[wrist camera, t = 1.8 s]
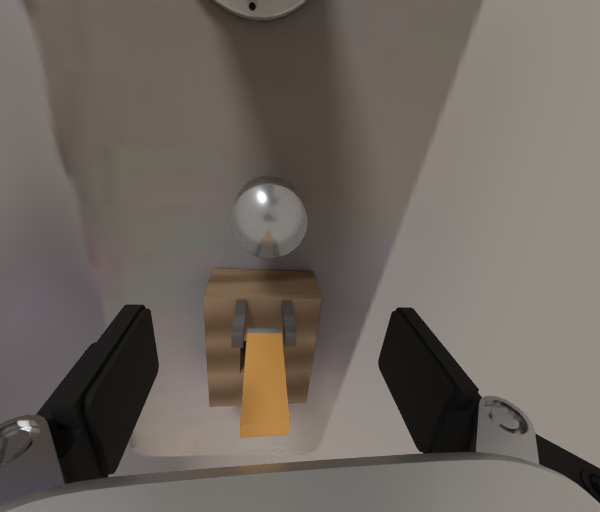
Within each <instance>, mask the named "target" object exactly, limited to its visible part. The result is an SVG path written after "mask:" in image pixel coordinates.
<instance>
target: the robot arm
mask: <svg viewBox="0 0 600 512" xmlns="http://www.w3.org/2000/svg"><path fill="white" fill-rule="evenodd" d="M213 1H214V2H215V3H217V4H218V5H220V6H221V7H222V8H224V9H225V10H227V11H229V12H231V13H233V14H235V15H237V16H239V17H242V18H246V19H251V20H256V21H260V20H273V19H277V18H281V17H284V16H286V15H288V14H290V13H292V12H293V11H295V10H297V9H298V8H299V7H300V6H302V5H303V4H304V3H305V2H306V1H307V0H213ZM251 4H254V5H255V7H256V8H255V10H253V11H252V10H250V8H249V7H250V5H251ZM378 364H379V369H380V371H381V373H382V375H383V377H384V380H385V381H386V384H387V386H388V388H389V390H390V392H391V394H392V396H393V398H394V401H395V403H396V405H397V407H398V409H399V411H400V413H401V415H402V418H403V420H404V422H405V424H406V426H407V428H408V430H409V432H410V434H411V437H412V439H413V441H414V443H415V445H416V447H417V449H418V450H419V451H420V452H423V454H407V455H392V456H377V457H361V458H346V459H333V460H318V461H304V462H290V463H276V464H263V465H249V466H235V467H223V468H209V469H197V470H184V471H171V472H159V473H149V474H139V475H128V476H118V477H108V475H109V474H113V473H114V472H115V471H116V469H117V467H118V465H119V463H120V460H121V458H122V456H123V453H124V451H125V449H126V446H127V444H128V442H129V439H130V437H131V435H132V432H133V430H134V427H135V425H136V423H137V420H138V418H139V416H140V413H141V411H142V409H143V406H144V404H145V402H146V399H147V397H148V394H149V392H150V390H151V387H152V385H153V383H154V380H155V378H156V376H157V373H158V368H159V363H158V356H157V350H156V343H155V337H154V330H153V323H152V317H151V311H150V309H146V308H145V306H144V305H125V306H124V307H123V308H122V309H121V311H120V312H119V313H118V315H117V316H116V317H115V319H114V320H113V321H112V323H111V324H110V325H109V326H108V328H107V329H106V330H105V332H104V333H103V334H102V336H101V337H100V338H99V340H98V341H97V342H95V343H93V344H91V345H90V346H89V348H88V349H87V350H86V351H85V353H84V354H83V355H82V356H81V358H80V359H79V360H78V362H77V363H76V364H75V365H74V367H73V368H72V369H71V370H70V372H69V373H68V374H67V376H66V377H65V378H64V379H63V381H62V382H61V383H60V384H59V386H58V387H57V388H56V390H55V391H54V392H53V394H52V395H51V396H50V397H49V399H48V400H47V401H46V402H45V404H44V405H43V406H42V408H41V409H40V410H39V411H38V413H37V414H36V415H29V414H28V415H23V416H18V417H15V418H12V419H9V420H7V421H4V422H2V423H1V424H0V512H600V468H598V467H596V466H594V465H592V464H590V463H588V462H587V461H585V460H583V459H581V458H579V457H577V456H576V455H574V454H572V453H570V452H568V451H566V450H565V449H562V448H561V447H559V446H557V445H555V444H553V443H551V442H550V441H548V440H546V439H544V438H542V437H540V436H539V435H537V434H535V430H534V427H533V424H532V422H531V421H530V420H529V418H528V416H527V415H525V413H523V411H521V410H520V409H519V408H518V407H516V406H515V405H514V404H512V403H510V402H508V401H507V400H505V399H502V398H499V397H496V396H485V397H483V398H482V397H481V396H480V395H479V393H478V391H479V389H478V388H477V387H476V385H475V384H474V383H473V382H472V380H471V379H470V378H469V377H468V376H467V374H466V373H465V372H464V371H463V369H462V368H461V367H460V366H459V364H458V363H457V362H456V361H455V359H454V358H453V357H452V356H451V355H450V353H449V352H448V351H447V350H446V348H445V347H444V346H443V345H442V343H441V342H440V341H439V340H438V339H437V337H436V336H435V335H434V334H433V333H432V331H431V330H430V329H429V327H428V326H427V325H426V324H425V322H424V321H423V320H422V319H421V318H420V316H419V315H418V314H417V313H416V311H415V310H414V309H413V308H397V309H396V310H395V311H393V312H392V314H391V318H390V321H389V324H388V328H387V332H386V335H385V339H384V342H383V346H382V349H381V353H380V357H379V361H378Z"/></svg>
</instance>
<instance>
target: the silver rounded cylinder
mask: <svg viewBox="0 0 600 512" xmlns="http://www.w3.org/2000/svg"><path fill="white" fill-rule="evenodd" d="M307 222H308V221H307V214H306V210H305V208H304V206H303V203H302V201H301V199H300V197H299V195H298V193H297V192H296V190H295V189H294V188H293V187H292V186H291V185H290V184H289V183H287V182H286V181H284V180H282V179H280V178H276V177H267V176H266V177H260V178H256V179H254V180H252V181H250V182H248V183H247V184H246V185H245V186H244V187H243V188H242V189H241V190H240V192H239V194H238V196H237V198H236V201H235V204H234V207H233V210H232V213H231V221H230V223H231V230H232V233H233V236H234V238H235V240H236V241H237V242H238V244H239V245H240V246H241V247H242V248H243V249H244V250H245V251H247V252H249V253H250V254H252V255H255V256H258V257H262V258H277V257H281V256H284V255H286V254H288V253H290V252H291V251H293V250H294V249H295V248H296V247H297V246H298V245H299V244H300V243H301V241H302V240H303V238H304V236H305V233H306V230H307Z"/></svg>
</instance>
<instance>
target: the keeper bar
mask: <svg viewBox="0 0 600 512" xmlns="http://www.w3.org/2000/svg"><path fill="white" fill-rule="evenodd" d="M289 424H290V421H289V409H288V398H287V387H286V375H285V364H284V352H283V341H282V328H247V341H246V354H245V367H244V381H243V394H242V407H241V420H240V438H241V437H259V436H276V435H288V432H289Z"/></svg>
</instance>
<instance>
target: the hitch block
mask: <svg viewBox="0 0 600 512" xmlns="http://www.w3.org/2000/svg"><path fill="white" fill-rule="evenodd" d="M203 303H204V320H205V337H206V354H207V371H208V387H209V404H210V407H217V406H241V405H242V394H243V381H244V367H245V354H246V341H247V328H282V341H283V352H284V364H285V375H286V387H287V398H288V404H289V403H306V400H307V394H308V388H309V381H310V375H311V368H312V362H313V355H314V349H315V343H316V336H317V330H318V323H319V317H320V311H321V304H322V297H321V294H320V291H319V288H318V285H317V282H316V279H315V275H314V272H313V271H281V270H247V269H213V270H212V273H211V276H210V279H209V282H208V284H207V287H206V290H205V293H204V296H203Z"/></svg>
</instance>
